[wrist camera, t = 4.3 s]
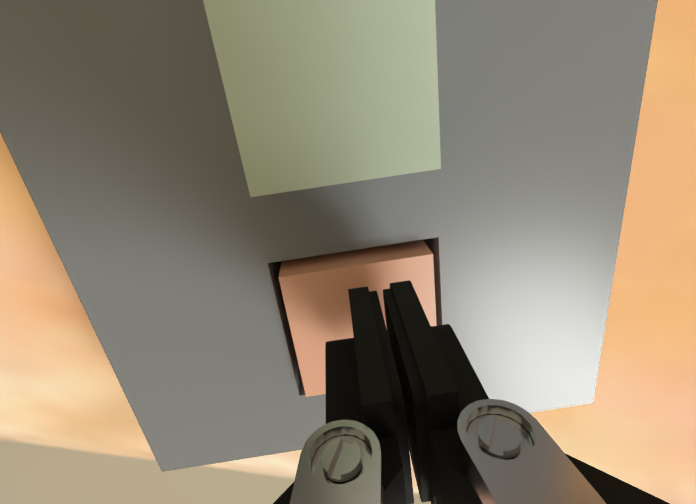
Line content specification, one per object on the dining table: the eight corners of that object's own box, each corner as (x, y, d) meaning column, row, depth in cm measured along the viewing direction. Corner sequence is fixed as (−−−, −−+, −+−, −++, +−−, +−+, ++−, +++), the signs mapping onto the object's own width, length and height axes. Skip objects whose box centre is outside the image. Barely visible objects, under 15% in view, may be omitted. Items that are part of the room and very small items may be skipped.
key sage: (225, -4, 9) (193, -38, 7) (403, -29, 9) (432, -71, 7) (264, 175, 11) (250, 197, 9) (415, 153, 11) (441, 169, 9)
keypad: (-161, -509, 8) (-519, -959, 4) (619, -602, 8) (834, -1097, 5) (191, 399, 17) (161, 471, 14) (541, 345, 17) (592, 402, 14)
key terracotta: (285, 244, 13) (278, 277, 11) (412, 225, 13) (433, 253, 11) (307, 349, 15) (305, 397, 12) (420, 331, 15) (439, 376, 12)
